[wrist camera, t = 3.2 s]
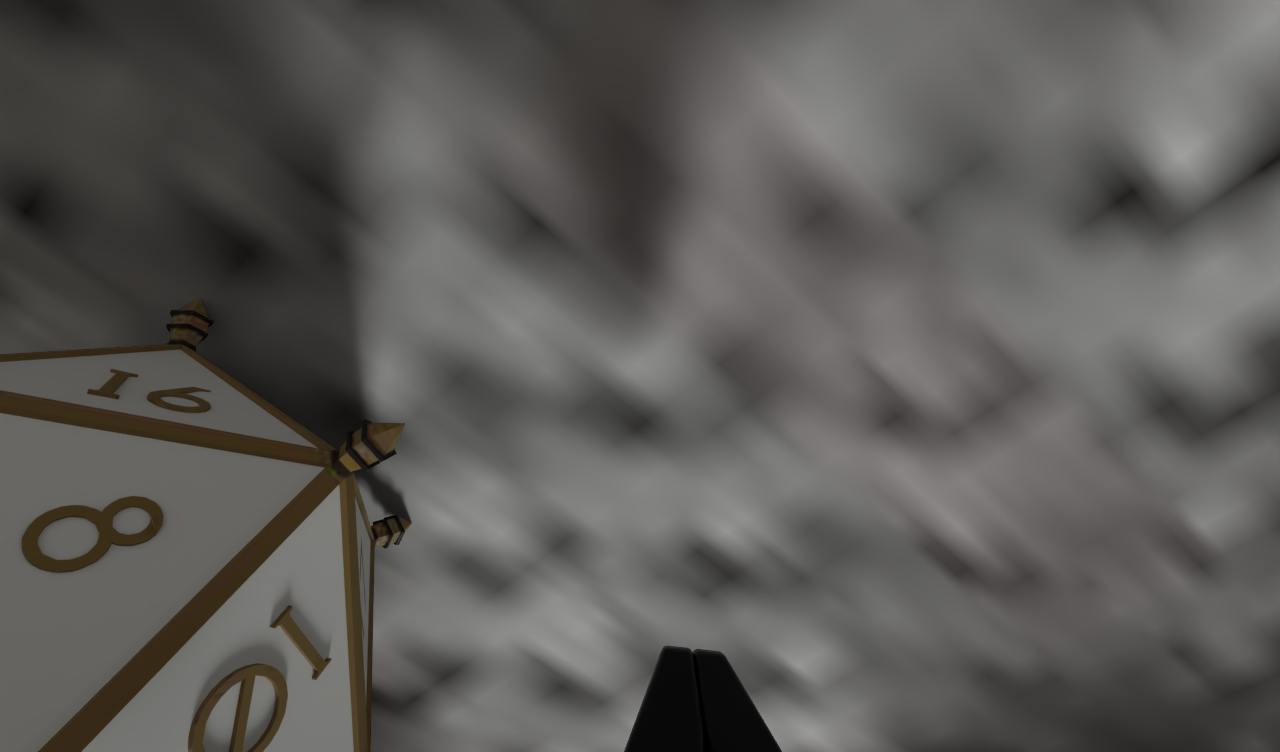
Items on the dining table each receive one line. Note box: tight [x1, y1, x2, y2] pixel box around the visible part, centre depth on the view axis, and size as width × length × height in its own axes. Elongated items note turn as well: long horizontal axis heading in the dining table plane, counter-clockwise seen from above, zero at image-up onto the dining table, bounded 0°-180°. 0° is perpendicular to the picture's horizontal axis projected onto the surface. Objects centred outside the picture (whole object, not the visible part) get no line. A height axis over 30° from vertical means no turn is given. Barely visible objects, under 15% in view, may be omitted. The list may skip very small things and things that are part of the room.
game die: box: [0, 298, 412, 752], centre depth 8 cm, size 9×8×10 cm
